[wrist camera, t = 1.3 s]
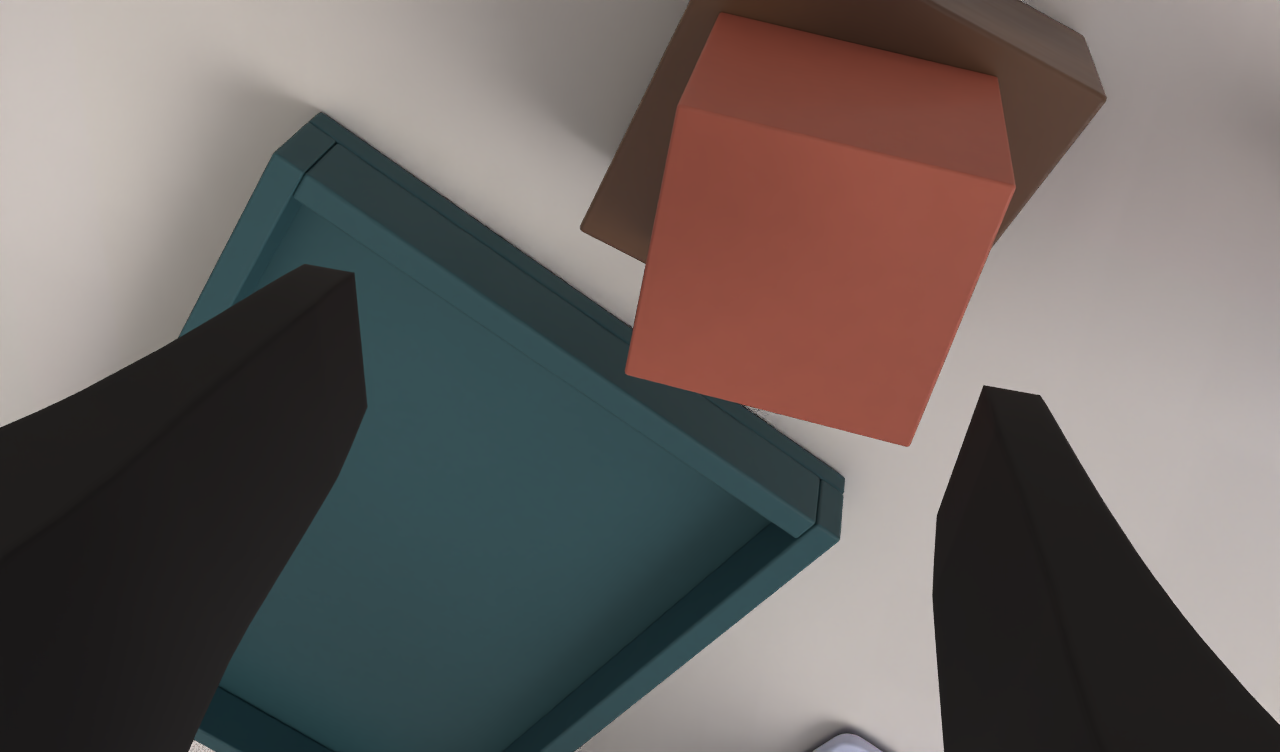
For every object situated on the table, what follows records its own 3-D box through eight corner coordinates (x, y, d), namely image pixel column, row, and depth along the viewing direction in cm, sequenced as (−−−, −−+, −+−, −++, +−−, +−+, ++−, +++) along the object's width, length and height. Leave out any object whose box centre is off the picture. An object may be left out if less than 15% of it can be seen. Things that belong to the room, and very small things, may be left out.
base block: (1086, 36, 20) (1109, 99, 17) (888, 305, 24) (885, 387, 21) (762, -143, 19) (740, -105, 17) (612, 163, 23) (577, 231, 21)
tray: (846, 477, 26) (841, 540, 25) (449, 810, 38) (426, 870, 36) (320, 109, 24) (273, 152, 22) (64, 590, 35) (19, 643, 33)
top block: (999, 76, 18) (1017, 186, 14) (910, 311, 20) (909, 449, 17) (719, 10, 18) (676, 104, 15) (669, 251, 20) (623, 375, 17)
